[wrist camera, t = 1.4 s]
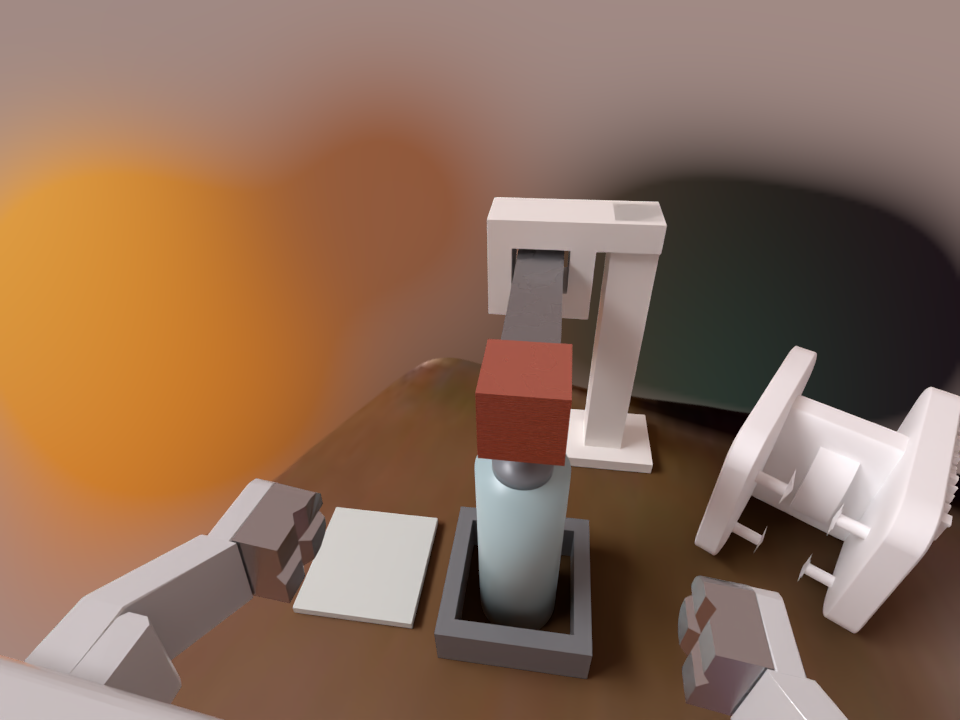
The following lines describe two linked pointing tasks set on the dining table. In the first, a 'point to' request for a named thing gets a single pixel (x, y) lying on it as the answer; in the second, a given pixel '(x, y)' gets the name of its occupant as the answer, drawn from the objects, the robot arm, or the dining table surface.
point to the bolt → (528, 370)
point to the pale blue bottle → (520, 539)
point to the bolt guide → (622, 310)
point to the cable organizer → (842, 485)
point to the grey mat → (369, 568)
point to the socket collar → (511, 642)
